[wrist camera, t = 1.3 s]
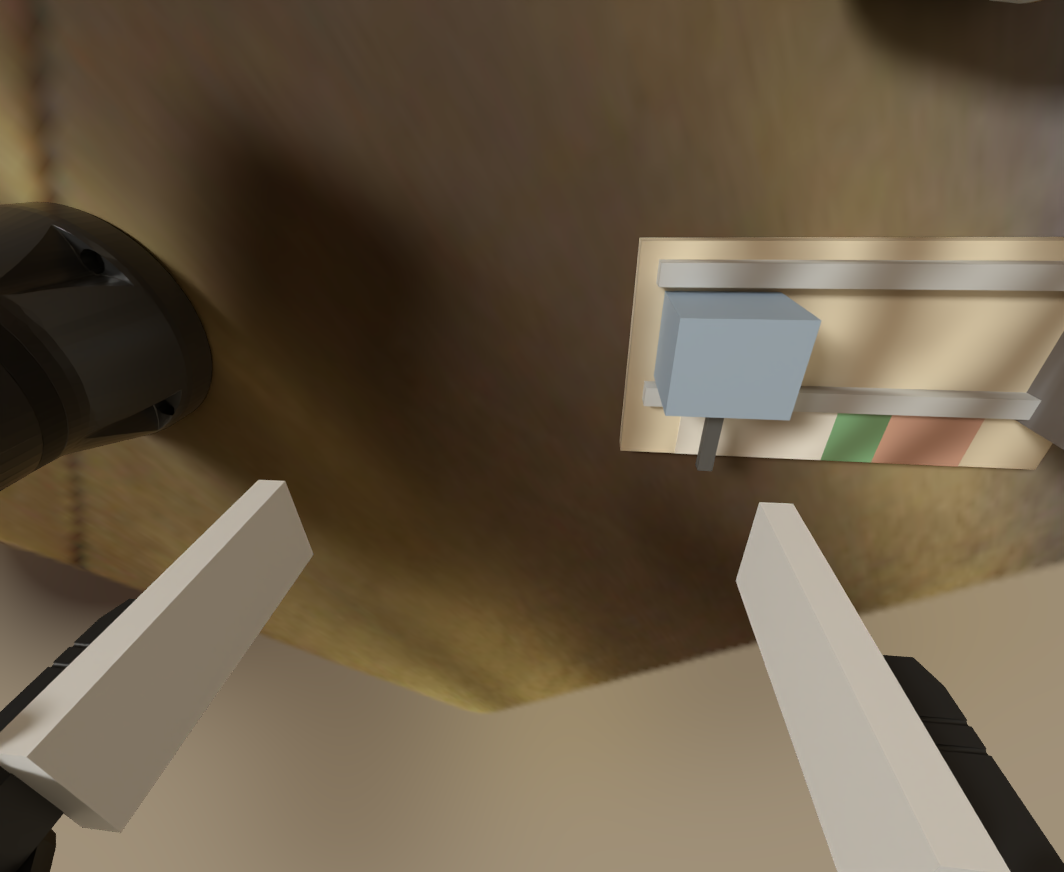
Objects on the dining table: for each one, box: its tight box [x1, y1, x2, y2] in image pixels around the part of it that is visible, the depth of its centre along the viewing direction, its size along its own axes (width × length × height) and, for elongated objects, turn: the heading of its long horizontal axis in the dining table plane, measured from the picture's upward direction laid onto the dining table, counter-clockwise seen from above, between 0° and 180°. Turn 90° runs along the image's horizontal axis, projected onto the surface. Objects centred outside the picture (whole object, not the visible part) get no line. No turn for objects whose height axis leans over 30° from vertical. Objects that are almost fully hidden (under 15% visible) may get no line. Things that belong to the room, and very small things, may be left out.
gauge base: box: [620, 237, 1064, 470], centre depth 24 cm, size 25×13×7 cm, turn 91°
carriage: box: [654, 291, 822, 471], centre depth 25 cm, size 6×9×5 cm, turn 1°
